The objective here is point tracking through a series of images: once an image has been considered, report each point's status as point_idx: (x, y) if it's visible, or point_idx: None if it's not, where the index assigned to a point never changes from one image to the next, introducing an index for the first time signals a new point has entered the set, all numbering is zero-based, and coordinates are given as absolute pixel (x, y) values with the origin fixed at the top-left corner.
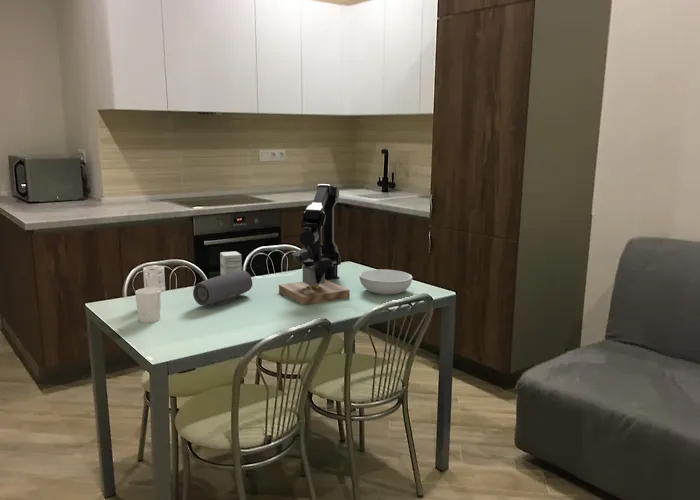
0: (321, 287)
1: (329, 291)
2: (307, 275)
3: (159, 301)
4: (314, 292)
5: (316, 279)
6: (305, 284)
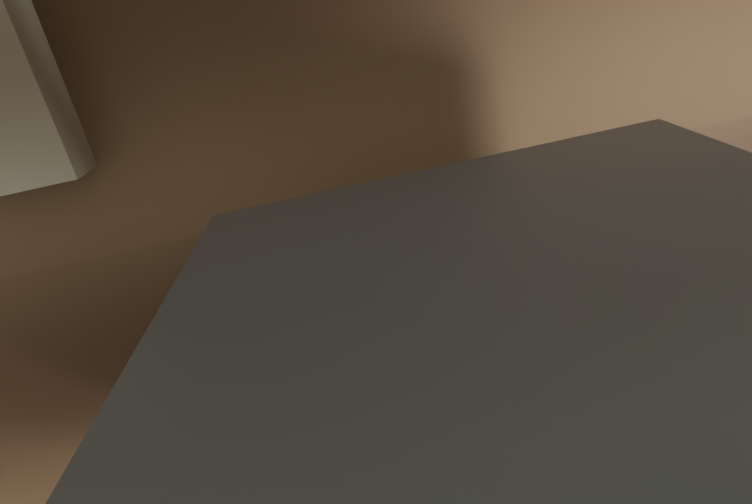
0: None
1: None
2: (383, 299)
3: None
4: (22, 216)
5: None
6: None
